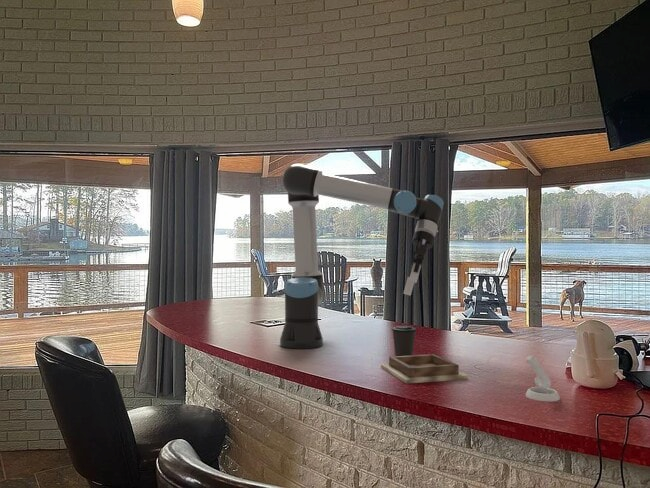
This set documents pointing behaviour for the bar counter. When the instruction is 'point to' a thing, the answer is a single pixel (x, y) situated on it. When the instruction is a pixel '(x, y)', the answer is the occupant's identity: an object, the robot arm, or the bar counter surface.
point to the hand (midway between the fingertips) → (409, 288)
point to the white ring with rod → (541, 384)
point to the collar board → (423, 369)
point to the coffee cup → (404, 340)
